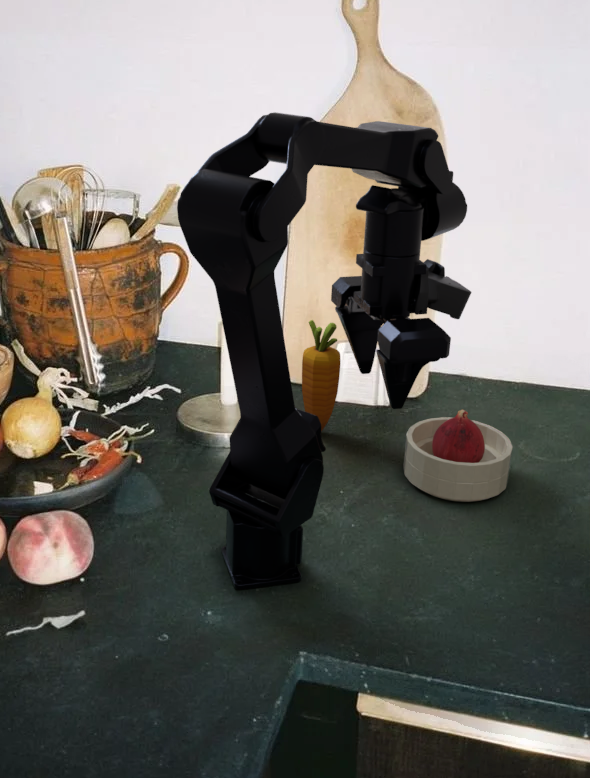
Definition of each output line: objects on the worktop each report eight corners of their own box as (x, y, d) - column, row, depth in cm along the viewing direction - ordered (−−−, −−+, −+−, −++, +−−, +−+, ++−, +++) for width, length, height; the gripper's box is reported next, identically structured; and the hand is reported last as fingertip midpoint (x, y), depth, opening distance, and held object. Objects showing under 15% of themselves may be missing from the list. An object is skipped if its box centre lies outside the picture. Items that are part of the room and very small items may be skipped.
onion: (481, 490, 104) (489, 425, 101) (428, 484, 105) (435, 419, 102) (480, 465, 109) (487, 403, 106) (429, 459, 110) (436, 397, 107)
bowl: (428, 510, 101) (432, 469, 99) (388, 459, 111) (391, 421, 109) (525, 499, 103) (531, 459, 101) (477, 450, 114) (482, 413, 112)
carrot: (291, 426, 119) (296, 315, 113) (328, 422, 120) (335, 312, 115) (305, 444, 114) (311, 329, 109) (343, 439, 116) (351, 325, 110)
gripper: (509, 272, 88) (489, 421, 94) (427, 223, 105) (415, 352, 111) (398, 279, 86) (385, 431, 91) (333, 227, 103) (326, 359, 108)
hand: (380, 390), depth 100 cm, fingers open, 9 cm apart
